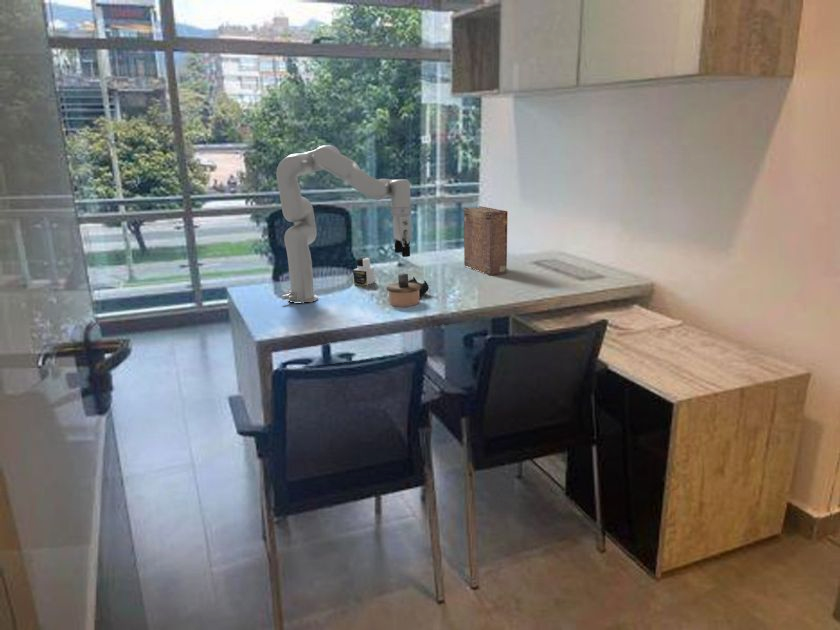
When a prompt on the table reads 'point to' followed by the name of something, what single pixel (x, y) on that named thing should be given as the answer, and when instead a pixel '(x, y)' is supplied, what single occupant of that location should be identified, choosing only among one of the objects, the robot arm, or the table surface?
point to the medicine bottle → (363, 272)
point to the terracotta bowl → (404, 298)
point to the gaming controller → (423, 286)
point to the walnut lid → (403, 285)
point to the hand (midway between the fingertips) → (402, 254)
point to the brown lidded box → (485, 239)
